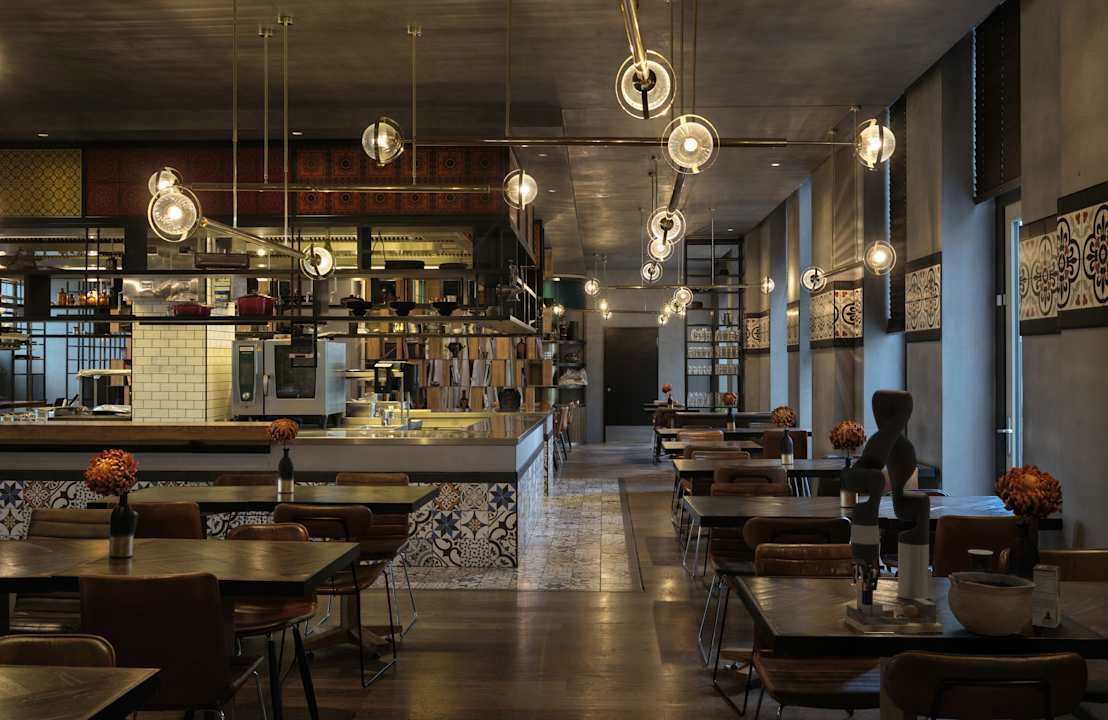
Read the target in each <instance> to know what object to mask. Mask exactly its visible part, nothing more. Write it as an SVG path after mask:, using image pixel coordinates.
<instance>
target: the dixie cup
mask: <svg viewBox="0 0 1108 720" xmlns="http://www.w3.org/2000/svg"><path fill="white" fill-rule="evenodd" d="M967 552H968V555H969V556H968V557H969V559H968V560H969V566H970V572H983V573H988V574H991V567H992V561H993V560H992V558H993V553H994V552H993V551H991V550H986V549H969V550H967Z"/></svg>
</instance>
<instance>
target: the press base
mask: <svg viewBox="0 0 1108 720" xmlns="http://www.w3.org/2000/svg"><path fill="white" fill-rule="evenodd" d="M912 605H913V606H915V607H916V608H917V610H918V616H917V618H907V617H905V616H904V615H903V613H895V610H893V609H883V617H884V618H866V614H865V613H863V612H861V611H859V610H858V609H857V607H854V606H852V605H850V604H846V614H845V615H844V622H845V621H847V622H848V623H850V624H851V625H853V626H855V627H856V628H858V629H860V630H862V631H863V632H894V633H893V634H919V633H918V632H943V633H944V625H943V624H941V623H940V622H937V604H936V603H934V602H932V601H930V600H928V599H926V600H925V599H923V598H921V599H913V600H912ZM848 623H847V624H848ZM850 624H849V625H850ZM851 625H850V626H851ZM853 626H852V627H853ZM855 627H854V628H855ZM856 628H855V629H856ZM858 629H857V630H858ZM860 630H859V631H860ZM863 632H862V633H863Z"/></svg>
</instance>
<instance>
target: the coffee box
mask: <svg viewBox="0 0 1108 720" xmlns="http://www.w3.org/2000/svg"><path fill="white" fill-rule="evenodd" d="M1031 570H1032V571H1031V572H1032V573H1031V575H1032V579H1031V582H1032V583H1034V584H1035V585H1036V586H1035V588H1034V590H1033V592H1032V595H1033V598H1034V613H1033V615H1032V617H1031V619H1032V621H1031V622H1032V626H1034V625H1036V627H1042V626H1043V628H1051V629H1056V628H1058V626H1059V624H1060V623H1061V566H1060V565H1050V564H1039V563H1038V564H1036V565H1035V566H1034V567H1032V569H1031Z"/></svg>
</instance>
